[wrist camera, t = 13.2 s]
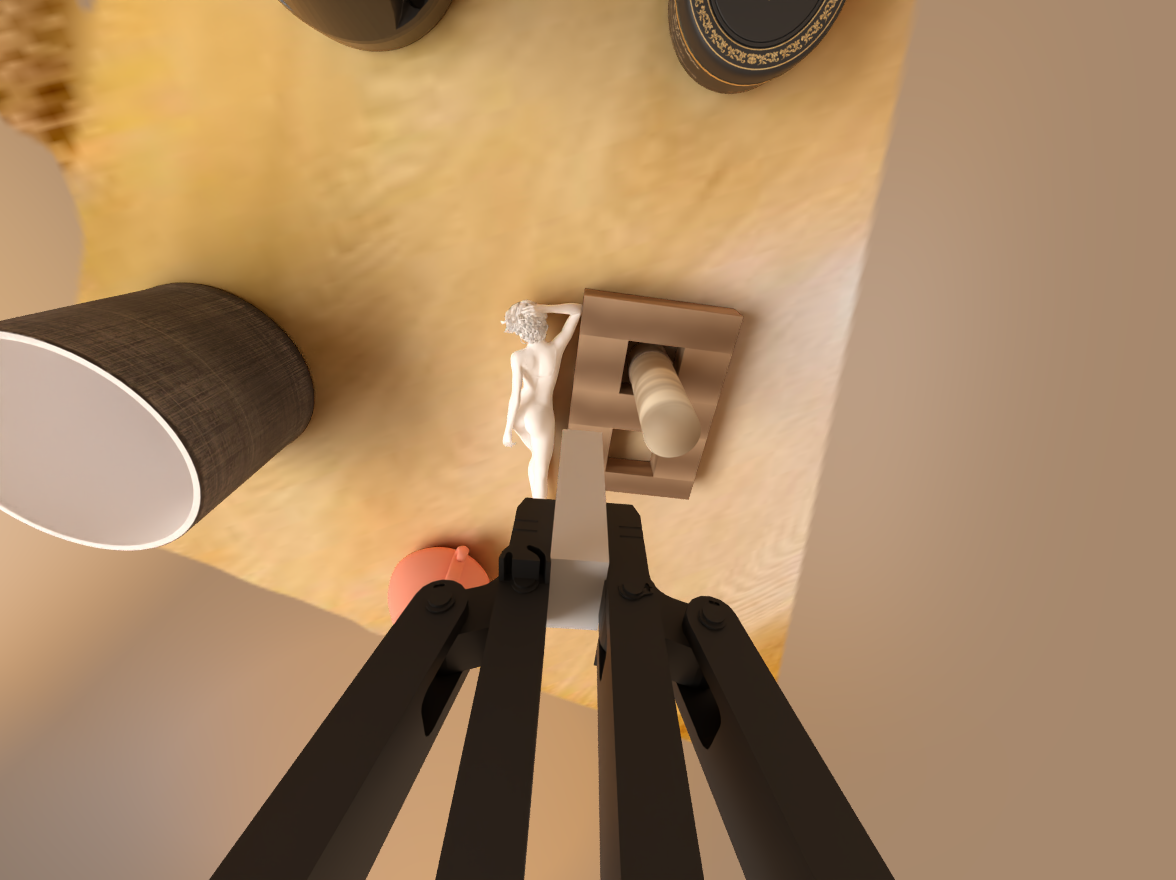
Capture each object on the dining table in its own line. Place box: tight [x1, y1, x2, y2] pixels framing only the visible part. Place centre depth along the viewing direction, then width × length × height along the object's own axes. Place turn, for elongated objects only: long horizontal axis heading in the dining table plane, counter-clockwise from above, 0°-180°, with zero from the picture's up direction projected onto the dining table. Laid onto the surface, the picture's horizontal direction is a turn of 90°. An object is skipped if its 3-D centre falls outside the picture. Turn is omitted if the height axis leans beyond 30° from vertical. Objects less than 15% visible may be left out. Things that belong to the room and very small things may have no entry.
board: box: [568, 289, 743, 500], centre depth 45 cm, size 20×14×3 cm
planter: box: [0, 283, 314, 550], centre depth 38 cm, size 18×18×16 cm
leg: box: [627, 342, 701, 458], centre depth 37 cm, size 4×4×15 cm
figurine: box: [500, 300, 583, 499], centre depth 45 cm, size 8×6×25 cm
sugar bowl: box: [388, 546, 490, 625], centre depth 53 cm, size 12×14×10 cm
